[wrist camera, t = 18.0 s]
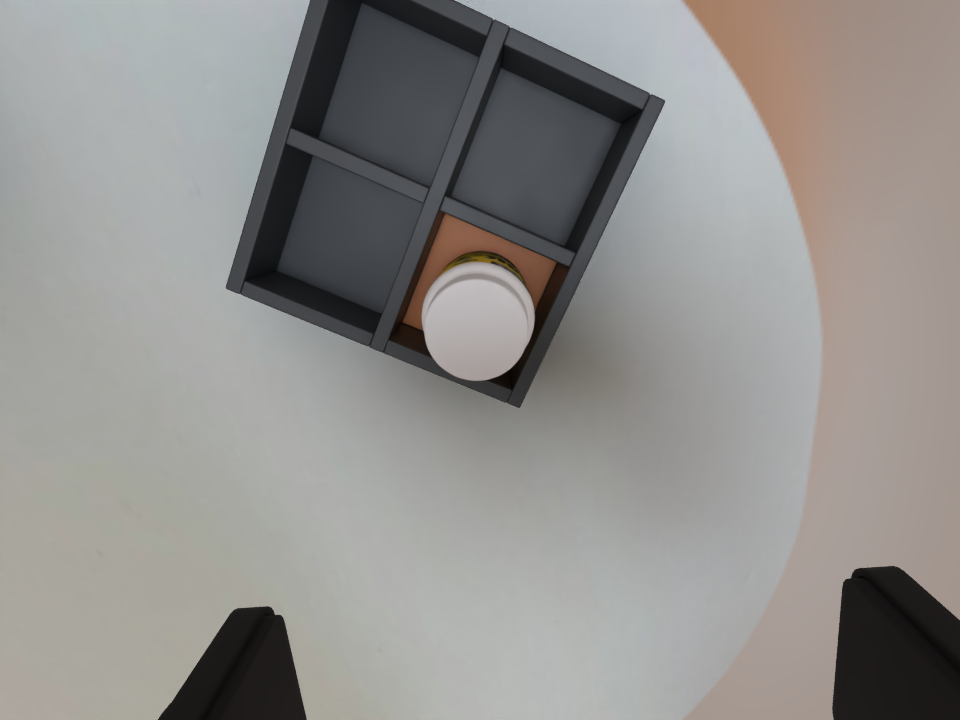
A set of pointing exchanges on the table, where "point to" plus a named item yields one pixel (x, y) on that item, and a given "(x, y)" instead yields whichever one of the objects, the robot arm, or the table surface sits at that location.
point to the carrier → (433, 172)
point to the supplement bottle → (478, 316)
